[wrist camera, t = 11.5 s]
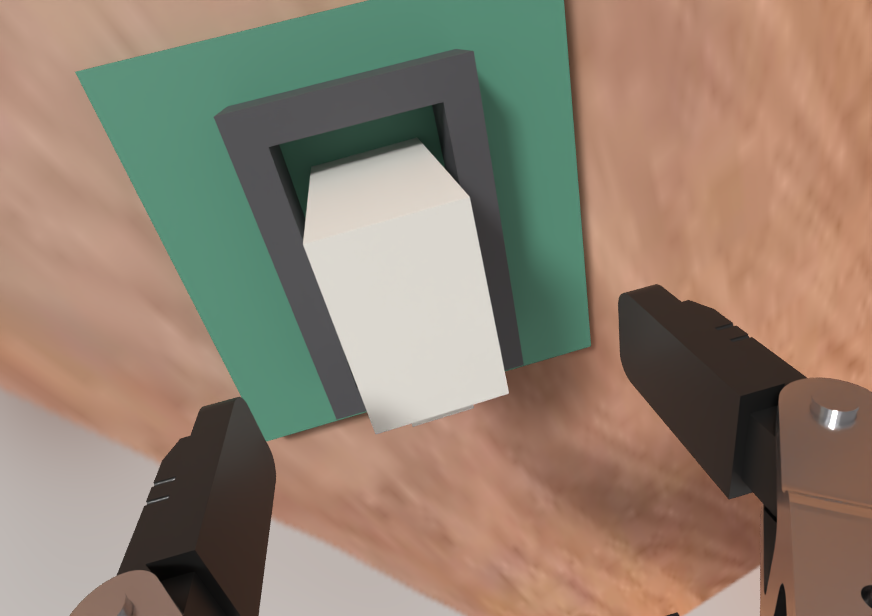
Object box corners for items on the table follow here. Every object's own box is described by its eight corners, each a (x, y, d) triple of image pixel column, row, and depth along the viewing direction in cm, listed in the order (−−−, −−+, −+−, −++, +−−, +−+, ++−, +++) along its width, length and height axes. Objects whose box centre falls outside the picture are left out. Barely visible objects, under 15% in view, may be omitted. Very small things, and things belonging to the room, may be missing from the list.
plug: (417, 137, 19) (469, 196, 12) (455, 300, 23) (514, 419, 16) (311, 166, 19) (302, 244, 12) (366, 326, 22) (385, 459, 15)
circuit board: (548, -43, 18) (594, -58, 15) (582, 335, 26) (616, 375, 23) (88, 69, 17) (36, 77, 14) (266, 427, 25) (258, 482, 22)
